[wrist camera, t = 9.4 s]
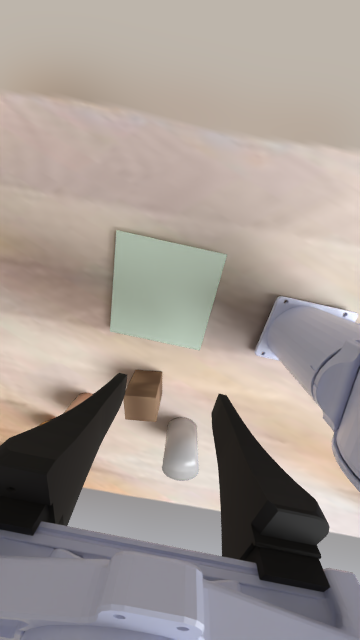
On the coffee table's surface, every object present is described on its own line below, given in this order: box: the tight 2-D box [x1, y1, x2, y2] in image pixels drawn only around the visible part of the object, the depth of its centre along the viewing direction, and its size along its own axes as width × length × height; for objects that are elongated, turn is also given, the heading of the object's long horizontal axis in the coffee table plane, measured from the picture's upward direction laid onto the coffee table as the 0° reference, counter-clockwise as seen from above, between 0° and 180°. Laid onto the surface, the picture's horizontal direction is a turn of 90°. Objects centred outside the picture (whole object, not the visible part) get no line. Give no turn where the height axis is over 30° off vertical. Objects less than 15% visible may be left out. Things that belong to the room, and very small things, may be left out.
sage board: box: [110, 230, 227, 350], centre depth 20 cm, size 12×12×1 cm
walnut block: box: [124, 370, 162, 422], centre depth 24 cm, size 4×4×5 cm
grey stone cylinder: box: [162, 417, 199, 481], centre depth 26 cm, size 5×5×6 cm
